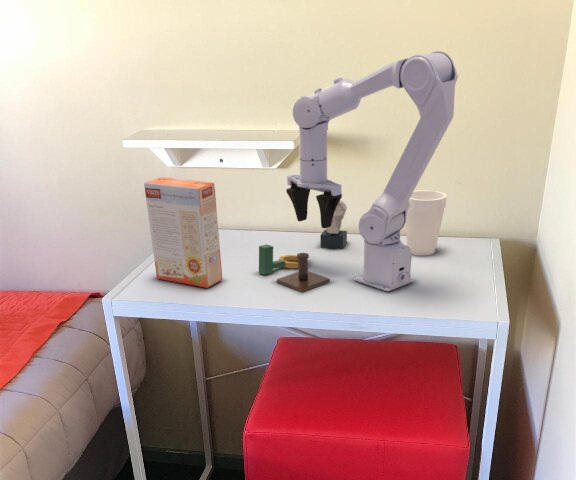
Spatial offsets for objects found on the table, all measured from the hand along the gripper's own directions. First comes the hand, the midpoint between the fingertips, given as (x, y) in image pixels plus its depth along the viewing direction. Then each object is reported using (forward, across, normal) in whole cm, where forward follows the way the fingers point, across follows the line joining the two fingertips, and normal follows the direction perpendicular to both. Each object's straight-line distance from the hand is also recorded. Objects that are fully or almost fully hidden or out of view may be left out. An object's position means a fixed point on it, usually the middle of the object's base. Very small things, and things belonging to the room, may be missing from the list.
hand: (314, 223), depth 143 cm
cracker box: (+10, -14, -24) cm, 30 cm away
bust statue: (+10, -8, +14) cm, 19 cm away
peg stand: (+10, +5, -8) cm, 14 cm away
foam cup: (+10, +10, +25) cm, 29 cm away
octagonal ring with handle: (+10, -5, -5) cm, 12 cm away
